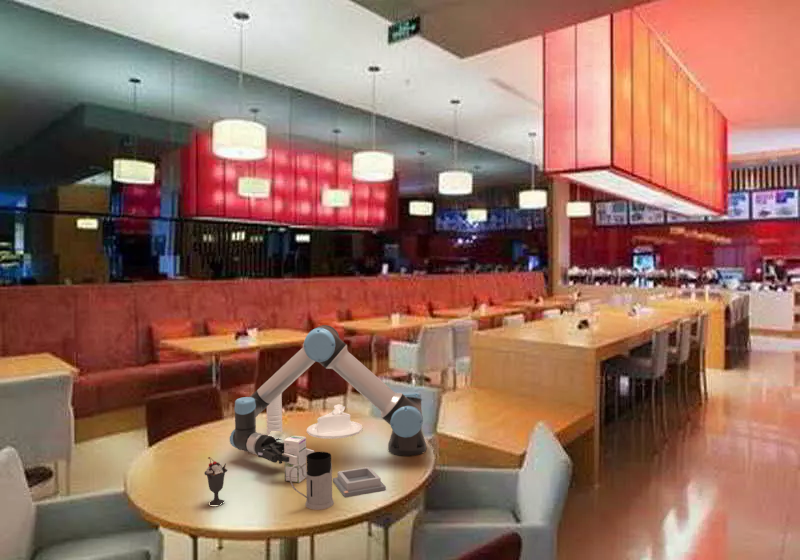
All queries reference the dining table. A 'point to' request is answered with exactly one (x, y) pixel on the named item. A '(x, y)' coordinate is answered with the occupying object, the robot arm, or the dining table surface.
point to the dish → (335, 425)
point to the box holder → (358, 482)
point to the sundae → (215, 480)
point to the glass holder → (317, 480)
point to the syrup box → (297, 448)
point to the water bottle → (274, 415)
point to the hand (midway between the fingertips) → (305, 457)
